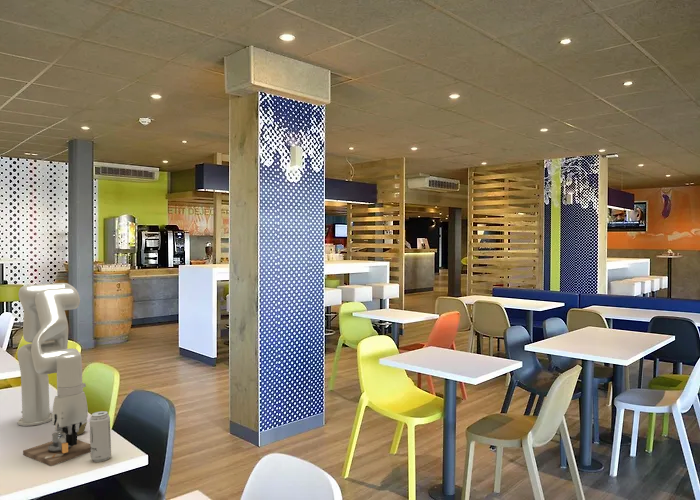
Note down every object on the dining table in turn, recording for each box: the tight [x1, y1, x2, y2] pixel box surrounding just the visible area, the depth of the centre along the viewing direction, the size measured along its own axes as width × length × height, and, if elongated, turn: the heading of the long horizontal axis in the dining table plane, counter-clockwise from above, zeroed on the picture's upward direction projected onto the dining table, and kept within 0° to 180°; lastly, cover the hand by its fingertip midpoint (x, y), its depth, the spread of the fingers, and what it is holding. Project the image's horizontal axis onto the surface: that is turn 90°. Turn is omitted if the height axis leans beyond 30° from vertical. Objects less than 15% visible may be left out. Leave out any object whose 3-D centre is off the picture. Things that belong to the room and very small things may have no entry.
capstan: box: [48, 431, 72, 453], centre depth 178 cm, size 13×7×5 cm, turn 38°
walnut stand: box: [22, 439, 91, 467], centre depth 181 cm, size 18×15×2 cm
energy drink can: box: [89, 410, 112, 463], centre depth 174 cm, size 6×6×15 cm
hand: (71, 444), depth 178 cm, fingers closed
